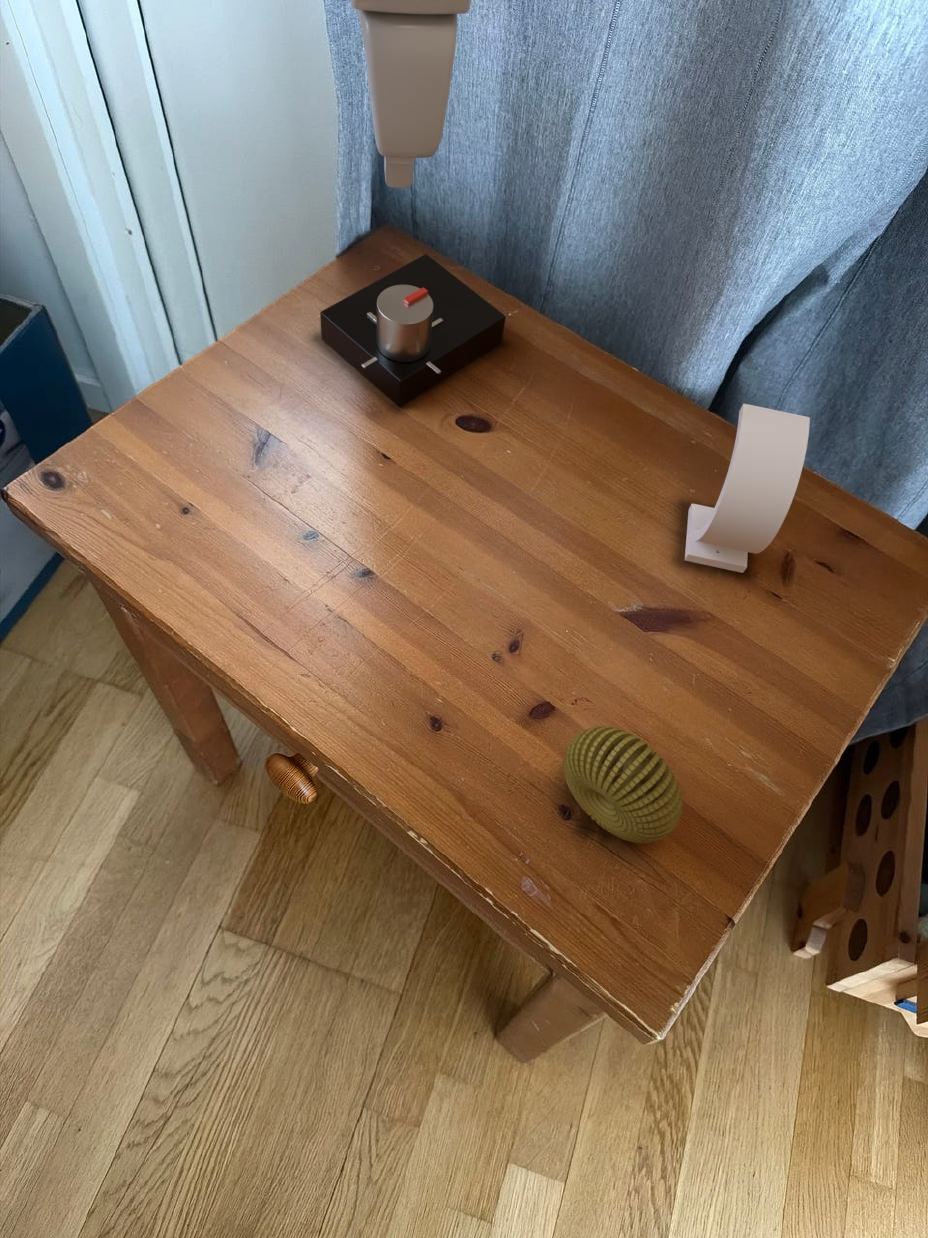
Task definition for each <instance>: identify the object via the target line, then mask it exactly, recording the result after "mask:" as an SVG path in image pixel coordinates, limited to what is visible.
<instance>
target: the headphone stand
mask: <svg viewBox="0 0 928 1238" xmlns="http://www.w3.org/2000/svg"><path fill="white" fill-rule="evenodd" d="M810 419H811V418H810V416H805V415H800V414H795V413H791V412H787V411H786V412H785V411H782V410H777V409H772V408H768V407H763V406H758V405H754V404H748V403H742V406H741V408H739V411H738V421H737V427H736V428H737V430H736V436H735V441H734V445H733V450H732V455H731V459H730V463H729V466H728V470H727V473H726V475H725V479H724V482H723V486H722V488H721V490H720V493H719V496H718V499H717V501H716V503H715V506H714V507H711V506H707V505H702V504H697V503H691V504H690V506H689V508H688V512H687V513H688V514H687V526H686V539H685V552H684V561H686V562H689V563H694V564H699V565H703V566H704V565H705V566H709V567H713V568H719V569H722V570H727V571H731V572H737V573H742V574H744V572H745V571H746V570H747V568H748V553H751V554H757V555H758V554H760V553H762V552H764V551H765V549H767V548H768V547H769V545H771V543H772V542H773V540H774V539H775V538H776V536H777V534H778V533H779V531H780V529H781V527H782V525H783V523H784V521H785V519H786V517H787V516H788V513H789V510H790V508H791V505H792V503H793V500H794V499H795V498H794V497H795V494H796V493H797V492H796V491H797V489H798V485H799V482H800V478H801V475H802V473H803V472H802V471H803V467H804V464H805V458H806V454H807V449H808V443H809V436H810V435H809V434H810V424H811V423H810V422H811V420H810Z"/></svg>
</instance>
